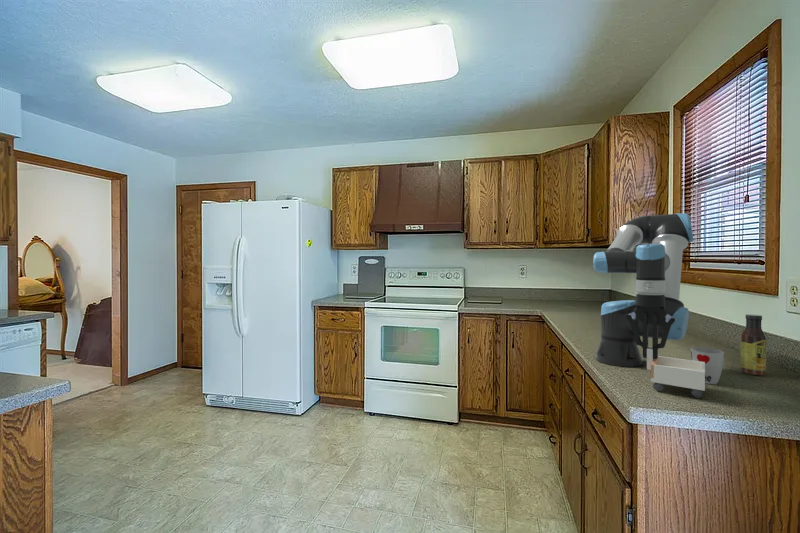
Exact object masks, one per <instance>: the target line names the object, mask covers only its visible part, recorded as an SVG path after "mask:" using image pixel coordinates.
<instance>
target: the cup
mask: <svg viewBox="0 0 800 533" xmlns="http://www.w3.org/2000/svg"><path fill="white" fill-rule="evenodd" d="M690 356H691V359H690V360H693V361H701V362H705V384H708V385H717V384H718V383H719V380H720V378H721V374H722V371H723V367H724V356H725V352H724V351H723V350H720V349H717V348H710V347H699V346H693V347H691V348H690Z"/></svg>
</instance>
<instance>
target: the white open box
mask: <svg viewBox="0 0 800 533" xmlns="http://www.w3.org/2000/svg"><path fill="white" fill-rule="evenodd" d="M650 382H651V383H653V384H652V387H653V389H654V391H658V392H660V391H663V389H664V385H667V386H674V387H680V388H686V389H691V395H692V397H693V398H696V399H700V398H702V397H703V391H704V392H705V391H706V383H705V362H701V361H693V360H692V359H684V358H683V359H682V358H677V357H669V356H661V355H658V358H657V360H656V359H653V361H652V363H651V370H650Z"/></svg>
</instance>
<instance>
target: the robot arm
mask: <svg viewBox="0 0 800 533" xmlns="http://www.w3.org/2000/svg"><path fill="white" fill-rule="evenodd" d="M691 220H692V219H691V215H690V214H689V213H687V212H685V213H684V212H683V213H677V212H675V213H672V214H671V213H668V214H652V215H643V216H639V217H635V218H634V219H633V218H632V219H630V220H629V221H627V222H625V223H624V224H622V225H621V226H620V227H619V228H618V229H617V232H616V236H615V238H614V240H613V241H612V243H611V244H610V245H609V247H608V248H607V250H606V251H597V252H595V253H594V255H593V259H592V266H593V269H594V272H596V273H605V274H635V275H636V277H635V278H636V279H635V282H636V283H635V285H636V286H635V292H636V293H637V294H636V295H635V300H634V299H633V300H631V299H627V300H625V299H624V300H615V301H614V300H613V301H606V302H604V303H602V305H601V309H600V329H601V330H600V333H601V335H600V343H599V345H598V347H597V349H596V352H595V353H596V354H595V356H596V357H595V358H596V360H597V361H598V362H600V363H602V364H606V365H610V366H617V367H628V368H629V367H630V368H632V367H640V366H641V365H643V359H646V370H647V371H651V363H652V361H653V359H656V360H657V358H658V356H659V349H664V348H665V347H666V344H667V341H670V340H671V341H681V340H682V339H684V337H685V335H686V332H687V331H688V330H687V329H688V325H689V317H690V311H689V309H688V308H687V307H685V304H684V302H683V301H681V300H680V295H681V294H680V292H681V279H682V267H683V266H682V265H683V250H685V249H686V248H687V247H688V246H689V244H690V243H692V242H694V235H693V234H694V233H693V228H692V221H691ZM635 247H636V248H635ZM634 249H635V250H634ZM641 338H642V339H641ZM649 338H651V339H652V345H651V346H652V347H651V346H650V347H649ZM659 340H660V343H659ZM639 346H640V347H642V354H641V352H640V349H639Z"/></svg>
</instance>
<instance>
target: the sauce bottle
mask: <svg viewBox="0 0 800 533" xmlns="http://www.w3.org/2000/svg"><path fill="white" fill-rule="evenodd" d="M762 320H763V316H762V315H761V314H749V313H747V314H745V321H746V322H745V329H744V330H742V332H741V335H740V336H741V337H740V338H741V339H740V359H739V360H740V362H739V363H740V372H742V373H744V374H747V375H752V376H765V375H766V370H767V337H766V335H765V333H764V331H763V328H762Z"/></svg>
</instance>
